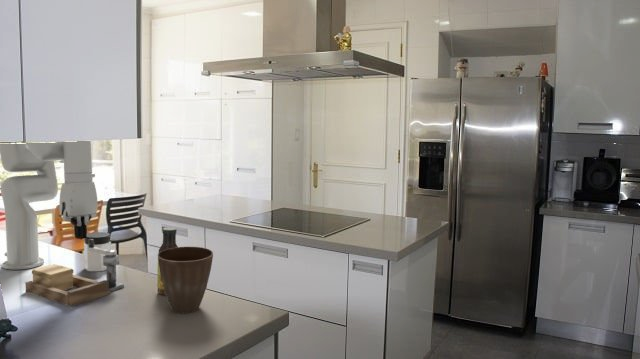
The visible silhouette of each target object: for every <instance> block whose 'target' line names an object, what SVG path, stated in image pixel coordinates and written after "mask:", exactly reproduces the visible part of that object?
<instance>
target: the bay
mask: <svg viewBox="0 0 640 359" xmlns="http://www.w3.org/2000/svg"><path fill="white" fill-rule="evenodd" d="M24 287H25V293H28V294H32V295H35V296H37V297H41V298H44V299H47V300H50V301H53V302H56V303H58V304H62V305H65V306H68V307H74V306H77V305H79V304H84V303H86V302H88V301H89V302H90V301H92V300H94V299H98V298H101V297H103V296H107V295H109V294H110V292H109V282H108V281H107V279H106V280H105V279H104V280H101V281H99V280H96V279H95V280H94V279H90V278H87V277H84V276H80V275H78V274H77V275H76V274H73V288H75V289H71V290H68V291H66V290H64V291H63V290H60V289H56V288H53V287H50V286H46V285H43V284H40V283H37V282H33V280H28V281H25V286H24Z"/></svg>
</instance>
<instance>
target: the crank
mask: <svg viewBox="0 0 640 359" xmlns="http://www.w3.org/2000/svg"><path fill="white" fill-rule="evenodd" d="M88 246H89V247H88V251H92V252H96V253H100V254H105V256H106V257H114V256H116V255H118V254H117V250H116V249H111V250H106V249H102V248H97V247H94V239H89V240H88Z"/></svg>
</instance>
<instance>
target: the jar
mask: <svg viewBox="0 0 640 359" xmlns="http://www.w3.org/2000/svg"><path fill="white" fill-rule="evenodd" d="M86 235H87V238H85V239H84V242H83V256H84V257H83V258H84V263H83V265H84V269H85V270H86V271H87V272H103V271H106V266H104V265H103V256H105V254H100V253H96V252H92V251H88V247H89V246H88V240H89V239H94V247H97V248H102V249H106V250H112V241H111V233H109V232H104V231H103V232H102V231H101V232H100V231H97V232H89V233H87V234H86Z"/></svg>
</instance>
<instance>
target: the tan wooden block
mask: <svg viewBox="0 0 640 359" xmlns="http://www.w3.org/2000/svg"><path fill="white" fill-rule="evenodd" d="M31 274H32V281H33V282H37V283H40V284H43V285H46V286H50V287H53V288H56V289H60V290H63V291H66V290H69V289H73V288H74V287H73V275H74V269H73V268H71V267H66V266H63V265H61V264H56V263H53V264H49V265H45V266H41V267H36V268H34V269H33V268H32V270H31Z"/></svg>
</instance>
